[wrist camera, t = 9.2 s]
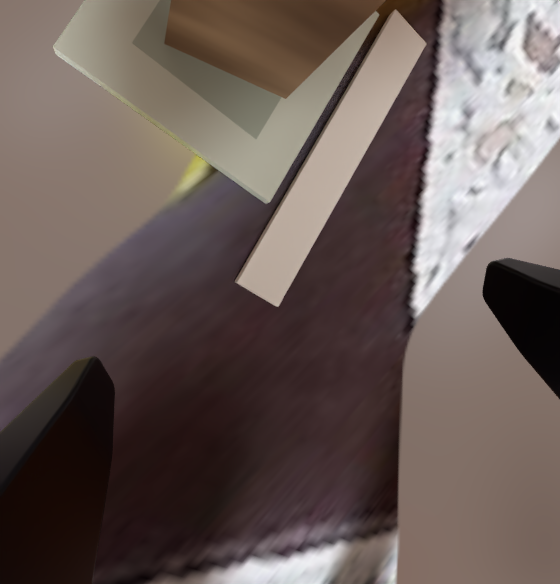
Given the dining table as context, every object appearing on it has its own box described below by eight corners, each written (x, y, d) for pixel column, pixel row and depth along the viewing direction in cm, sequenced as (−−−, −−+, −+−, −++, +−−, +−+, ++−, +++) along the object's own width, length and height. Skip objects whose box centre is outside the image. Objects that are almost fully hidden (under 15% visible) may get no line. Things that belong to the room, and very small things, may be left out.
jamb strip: (274, 305, 19) (278, 307, 18) (234, 281, 18) (236, 282, 18) (419, 48, 20) (426, 43, 20) (389, 14, 20) (395, 9, 19)
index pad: (265, 203, 18) (269, 202, 18) (55, 54, 14) (52, 46, 14) (372, 21, 19) (379, 14, 19) (201, -161, 16) (204, -177, 15)
